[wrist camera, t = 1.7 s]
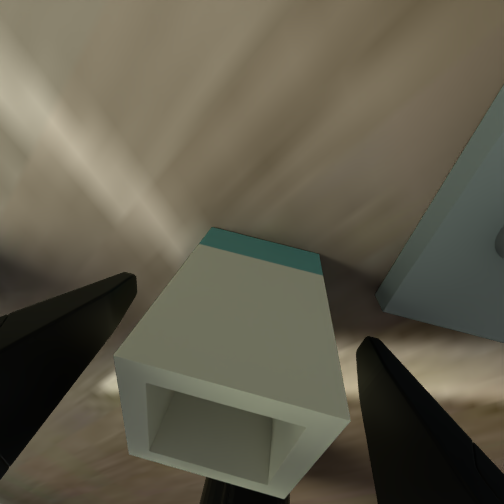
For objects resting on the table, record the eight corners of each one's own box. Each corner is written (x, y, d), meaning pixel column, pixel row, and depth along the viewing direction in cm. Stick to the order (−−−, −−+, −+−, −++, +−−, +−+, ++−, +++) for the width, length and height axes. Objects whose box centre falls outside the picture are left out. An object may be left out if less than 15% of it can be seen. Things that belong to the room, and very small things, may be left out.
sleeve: (288, 329, 12) (284, 499, 6) (201, 306, 12) (129, 454, 6) (319, 254, 9) (350, 420, 4) (211, 227, 9) (113, 355, 4)
